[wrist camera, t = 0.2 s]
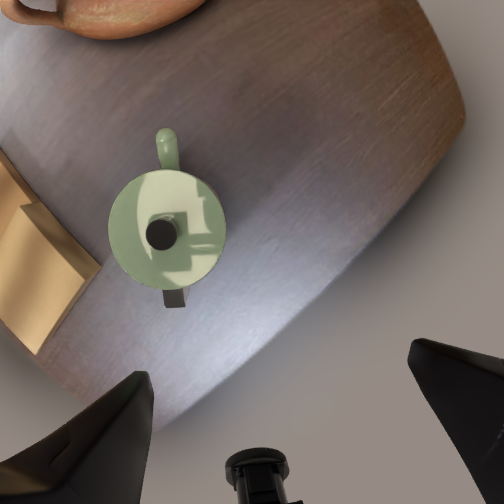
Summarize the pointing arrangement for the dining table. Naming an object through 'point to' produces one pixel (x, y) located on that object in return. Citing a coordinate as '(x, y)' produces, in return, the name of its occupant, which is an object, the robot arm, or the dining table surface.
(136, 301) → the dining table surface
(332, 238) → the dining table surface
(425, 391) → the robot arm
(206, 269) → the kettle
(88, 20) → the ceramic jug
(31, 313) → the stand
